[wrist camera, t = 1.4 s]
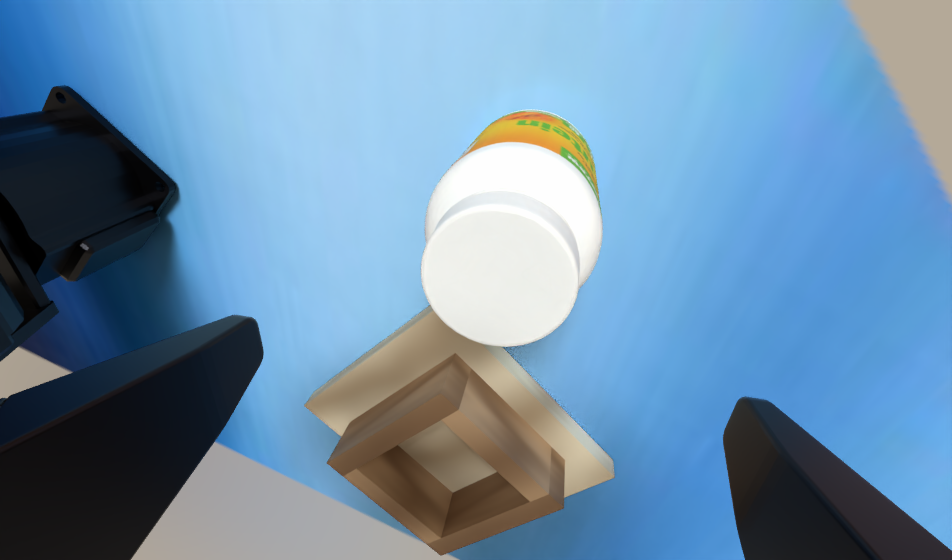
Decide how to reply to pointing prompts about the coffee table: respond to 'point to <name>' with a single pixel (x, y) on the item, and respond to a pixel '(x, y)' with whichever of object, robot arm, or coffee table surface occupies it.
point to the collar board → (454, 436)
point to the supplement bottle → (513, 230)
